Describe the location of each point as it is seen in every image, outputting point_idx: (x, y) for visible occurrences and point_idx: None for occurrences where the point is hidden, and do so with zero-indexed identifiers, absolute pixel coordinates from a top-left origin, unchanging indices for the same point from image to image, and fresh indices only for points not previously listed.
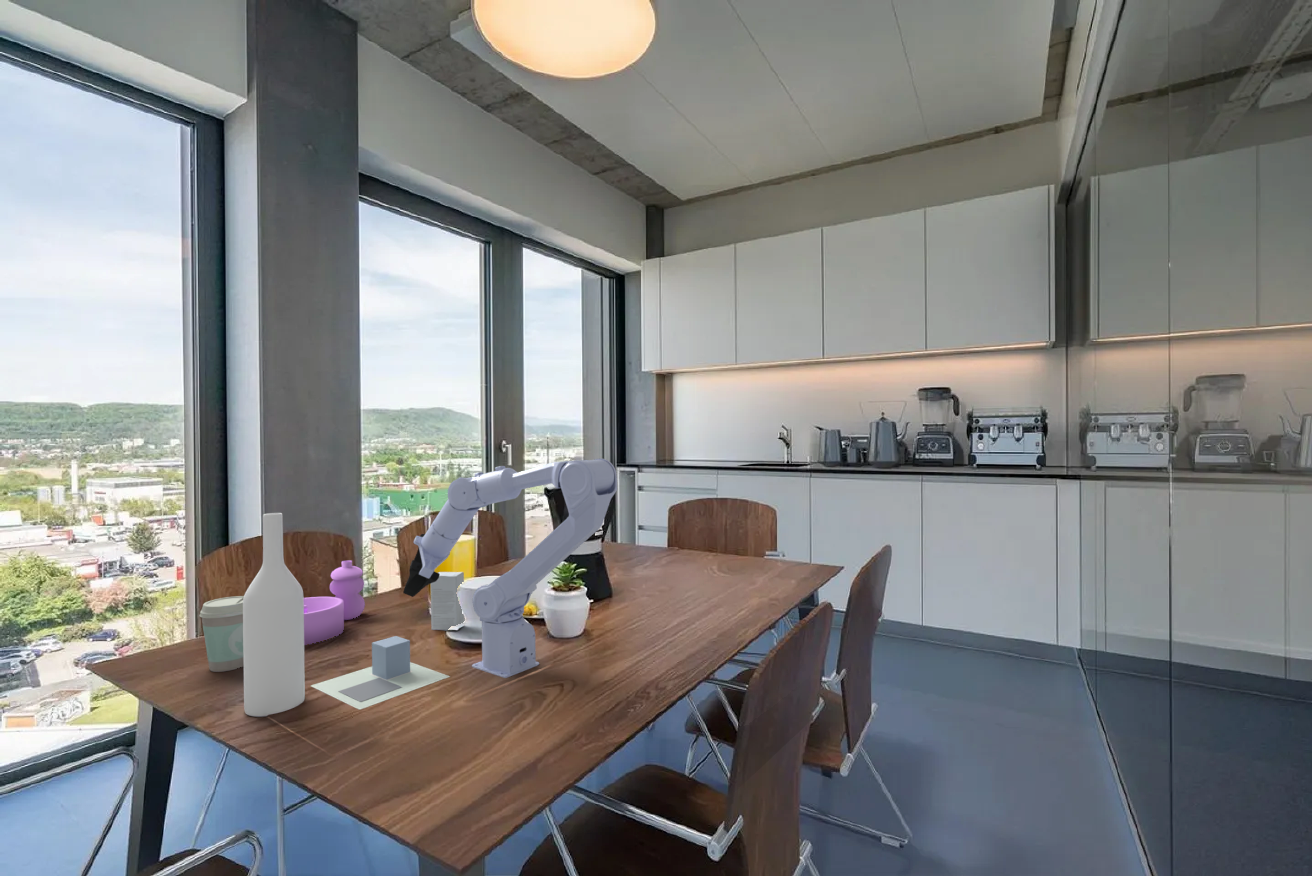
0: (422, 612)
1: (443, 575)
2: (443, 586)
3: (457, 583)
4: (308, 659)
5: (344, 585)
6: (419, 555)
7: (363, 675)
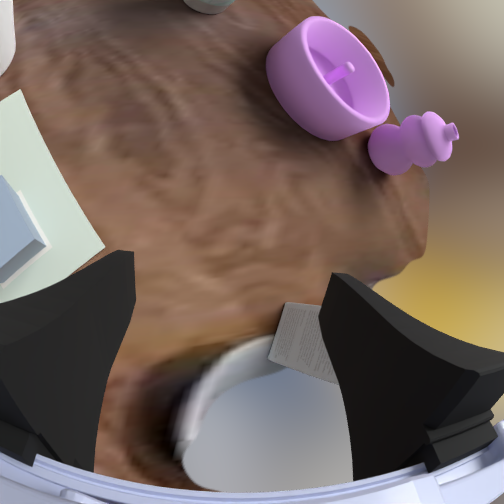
0: (379, 269)
1: None
2: None
3: None
4: (186, 76)
5: (413, 131)
6: (375, 334)
7: (19, 177)
